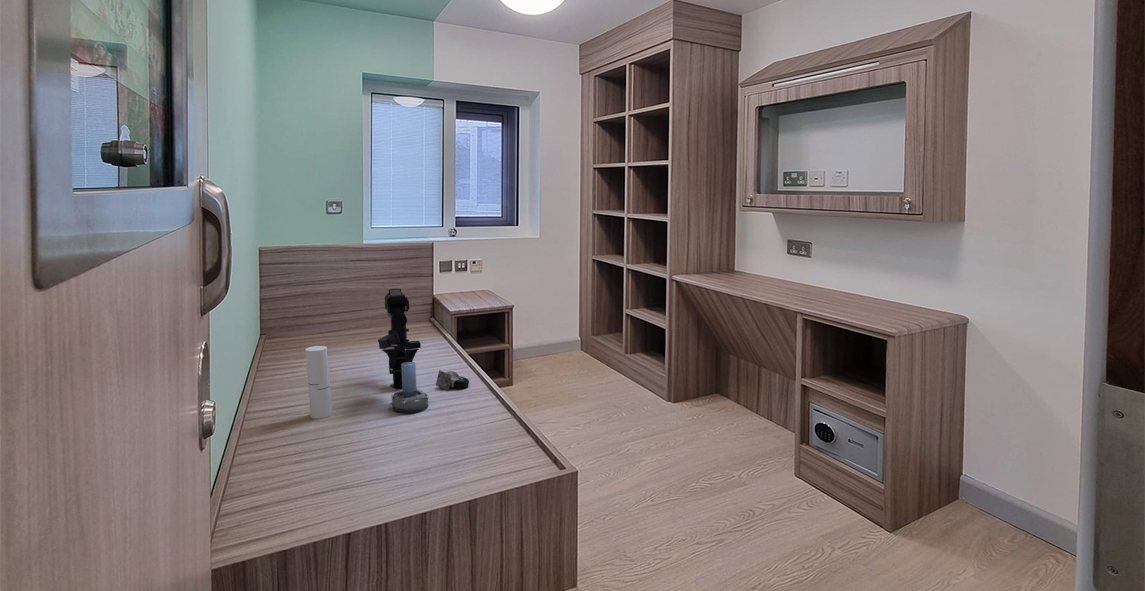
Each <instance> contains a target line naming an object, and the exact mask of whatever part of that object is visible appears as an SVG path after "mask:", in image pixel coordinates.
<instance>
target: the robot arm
mask: <svg viewBox="0 0 1145 591" xmlns="http://www.w3.org/2000/svg"><path fill="white" fill-rule="evenodd" d="M384 308H385V310H386V314H387V316H388V317H389V318H390V329H388V332H387V333H388V334H386V335H384V336H382V337H380V338H379V339H377V342H378V348H379V350H381V351H382V352H384V353H385V354H386V355H387V358H388V371H389V372H388V373H389V375H392V383H391V384H390V385H389V386H390V387H392V388H394V389H395V390H399V389H403V386H402V368H401V364H402V363H405V362H414V359H415V356H416V354H417V353H418V351H420V348H421V347H422V346H421V345H422V344H421V341H419V340H410V339H408V336H407V332H410V330H409V328H407V322H408V317H407V316H406V314H405V312H409V310H410V301H409V298H408V297H407V296H406V294H405V293H404V294H403V292H402V289H401V288H389V289H388V293H387V294H386V295H385V296H384Z"/></svg>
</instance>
